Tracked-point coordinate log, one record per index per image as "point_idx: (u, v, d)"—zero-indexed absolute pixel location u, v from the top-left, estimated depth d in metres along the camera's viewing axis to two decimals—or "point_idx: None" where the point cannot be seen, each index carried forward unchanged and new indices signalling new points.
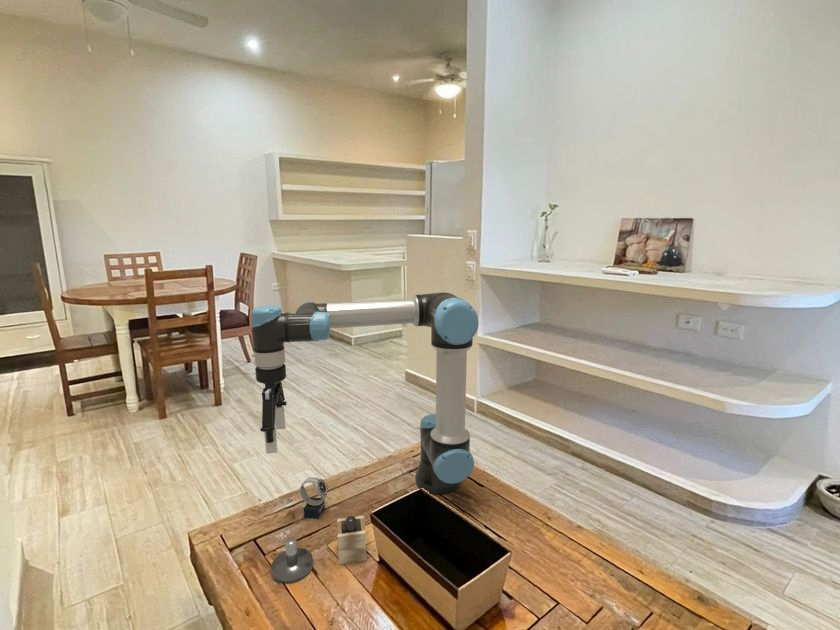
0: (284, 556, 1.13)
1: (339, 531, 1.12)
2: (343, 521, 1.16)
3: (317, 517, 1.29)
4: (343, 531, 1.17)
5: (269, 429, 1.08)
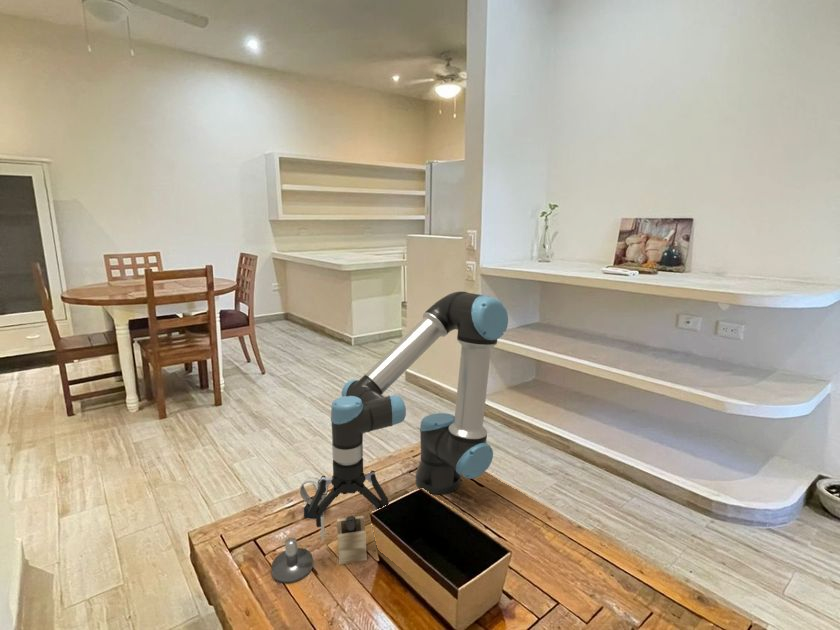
0: (284, 556, 1.13)
1: (339, 531, 1.12)
2: (343, 521, 1.16)
3: None
4: (343, 531, 1.17)
5: None
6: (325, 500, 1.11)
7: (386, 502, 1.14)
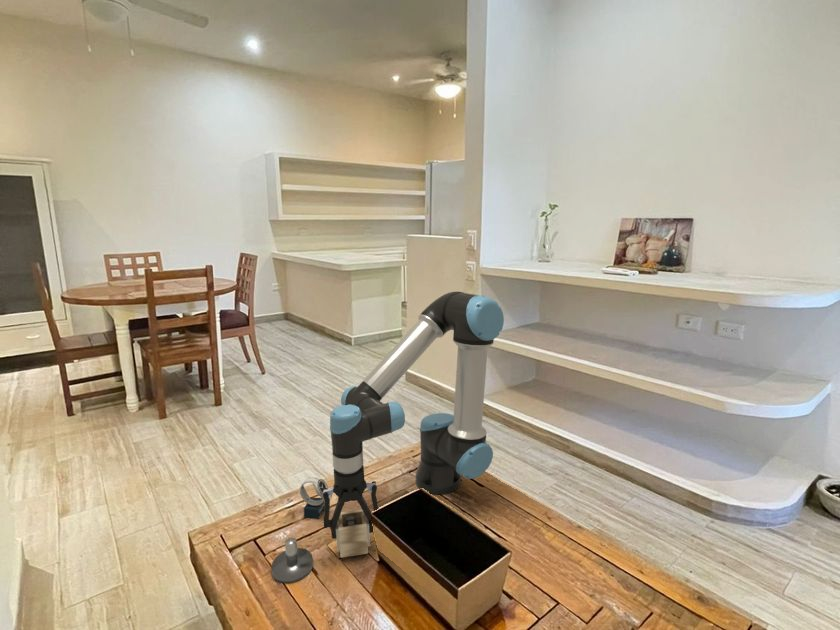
0: (284, 556, 1.13)
1: (340, 524, 1.12)
2: (344, 514, 1.16)
3: (317, 517, 1.29)
4: (344, 524, 1.17)
5: None
6: (335, 511, 1.12)
7: None
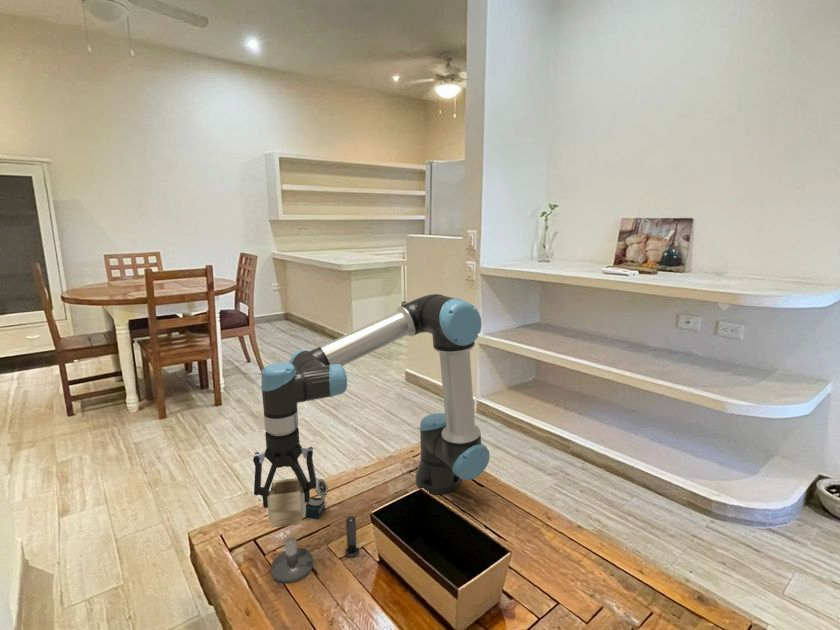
0: (284, 556, 1.13)
1: (272, 492, 1.04)
2: (279, 483, 1.09)
3: (317, 517, 1.29)
4: (279, 494, 1.09)
5: None
6: (267, 478, 1.05)
7: (314, 484, 1.07)
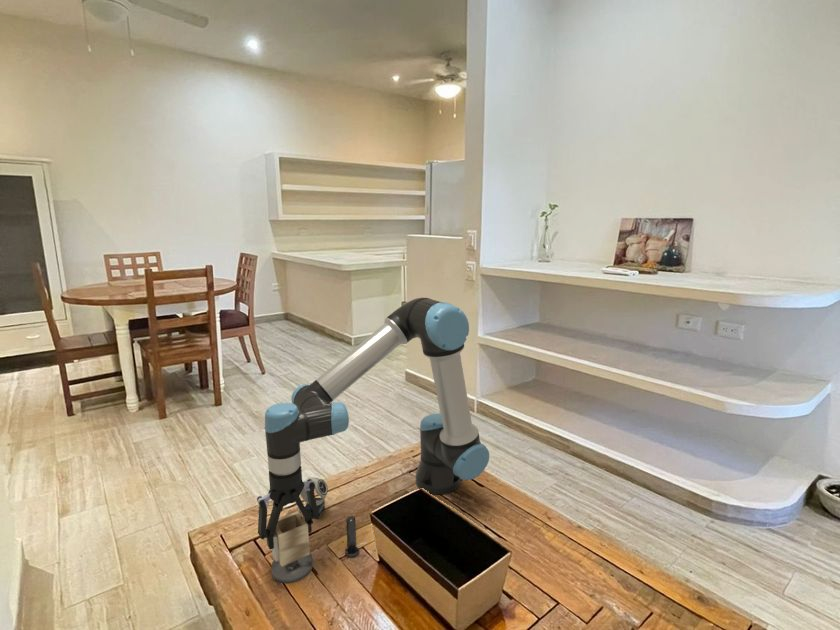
0: None
1: (278, 531, 1.06)
2: (278, 521, 1.10)
3: (317, 517, 1.29)
4: None
5: (260, 536, 1.04)
6: (271, 519, 1.05)
7: (316, 513, 1.11)
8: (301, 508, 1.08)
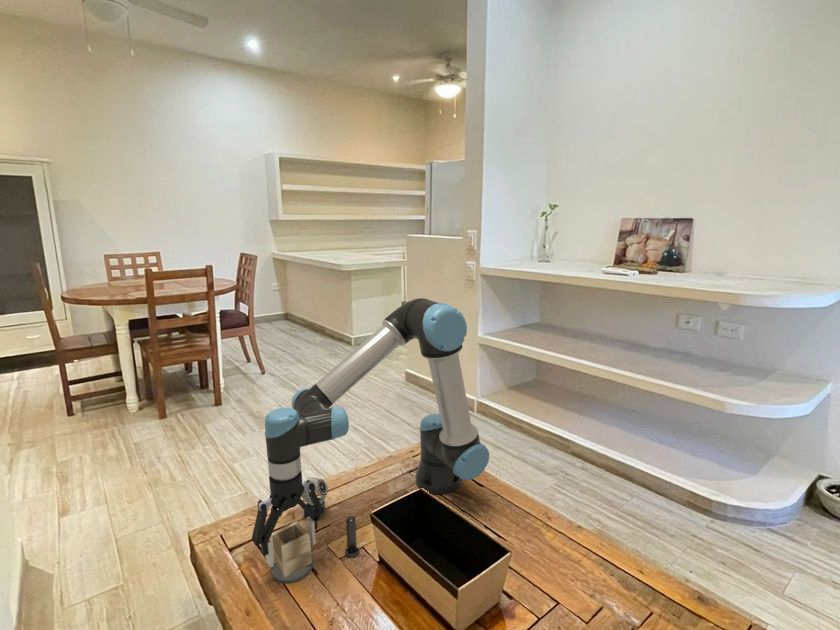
0: None
1: (281, 543, 1.06)
2: (279, 533, 1.10)
3: None
4: None
5: (254, 542, 1.02)
6: (268, 524, 1.05)
7: (322, 510, 1.13)
8: (305, 508, 1.10)
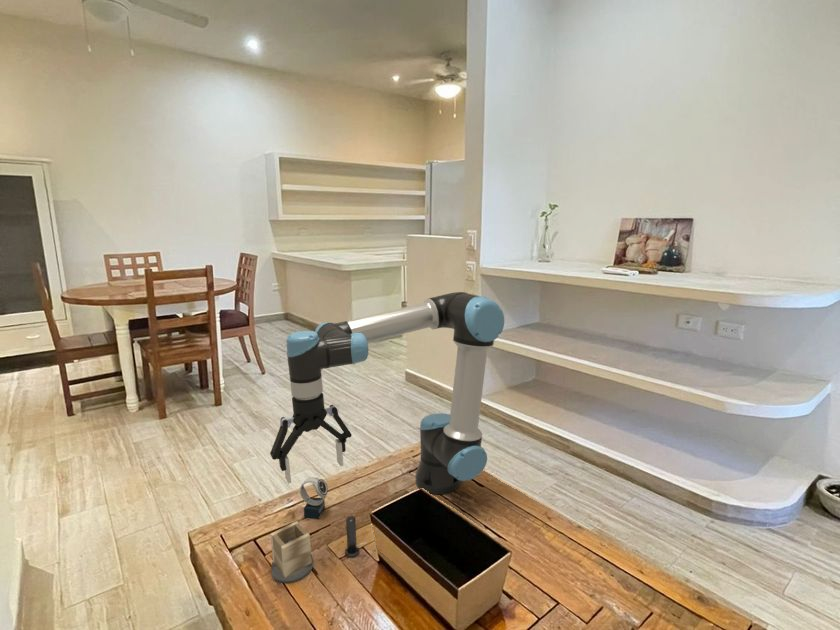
0: None
1: (281, 543, 1.06)
2: (279, 533, 1.10)
3: (317, 517, 1.29)
4: None
5: (271, 456, 1.06)
6: (288, 441, 1.08)
7: (349, 433, 1.15)
8: (330, 430, 1.12)
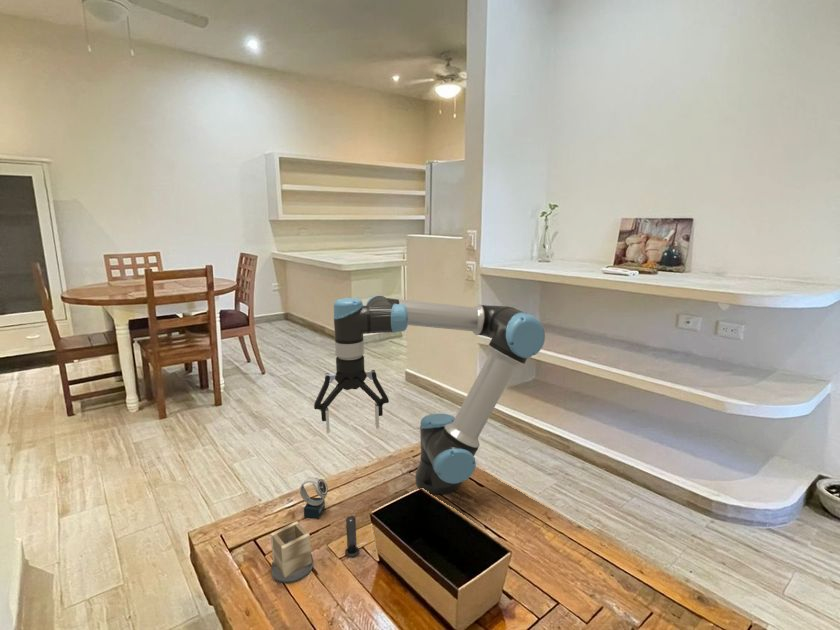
0: None
1: (281, 543, 1.06)
2: (279, 533, 1.10)
3: (317, 517, 1.29)
4: None
5: (314, 406, 1.19)
6: (329, 396, 1.19)
7: (386, 399, 1.22)
8: (368, 393, 1.21)
